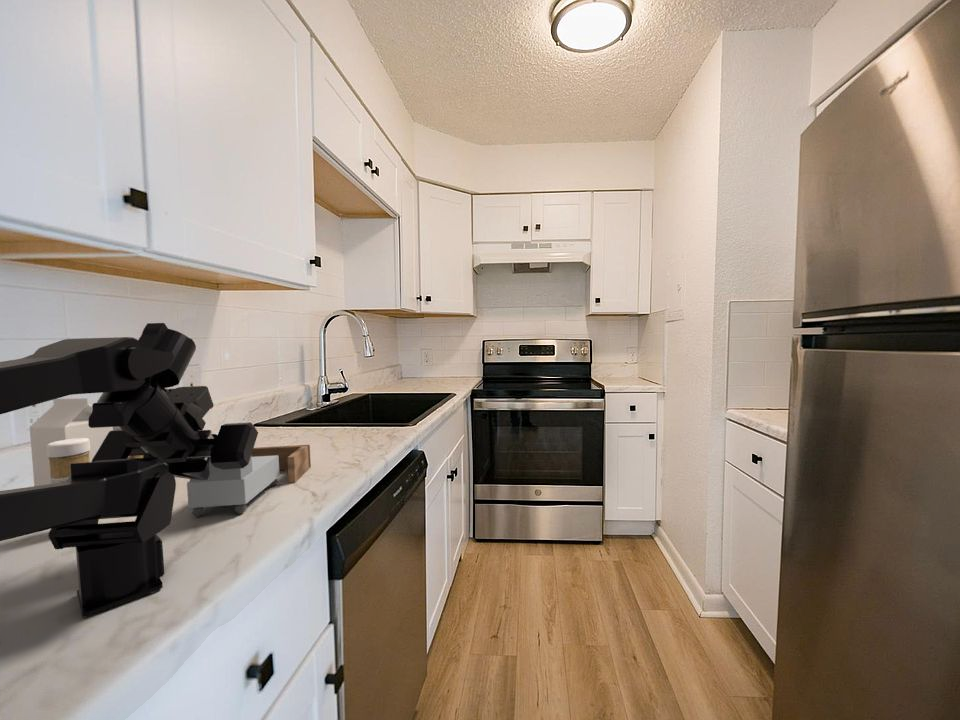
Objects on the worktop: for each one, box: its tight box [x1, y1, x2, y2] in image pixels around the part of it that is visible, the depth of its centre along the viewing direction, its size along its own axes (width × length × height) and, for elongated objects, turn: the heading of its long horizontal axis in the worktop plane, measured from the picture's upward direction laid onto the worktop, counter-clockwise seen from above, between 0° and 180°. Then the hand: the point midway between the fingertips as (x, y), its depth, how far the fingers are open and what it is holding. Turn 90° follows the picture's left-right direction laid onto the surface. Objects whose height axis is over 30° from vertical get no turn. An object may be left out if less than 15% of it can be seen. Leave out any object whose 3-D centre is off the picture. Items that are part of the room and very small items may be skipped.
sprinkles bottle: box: [47, 438, 90, 484], centre depth 62 cm, size 5×5×14 cm
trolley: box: [186, 454, 281, 518], centre depth 72 cm, size 15×8×10 cm, turn 6°
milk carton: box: [29, 397, 113, 486], centre depth 69 cm, size 7×7×19 cm
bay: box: [252, 444, 312, 484], centre depth 84 cm, size 10×14×5 cm
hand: (206, 477), depth 63 cm, fingers closed
